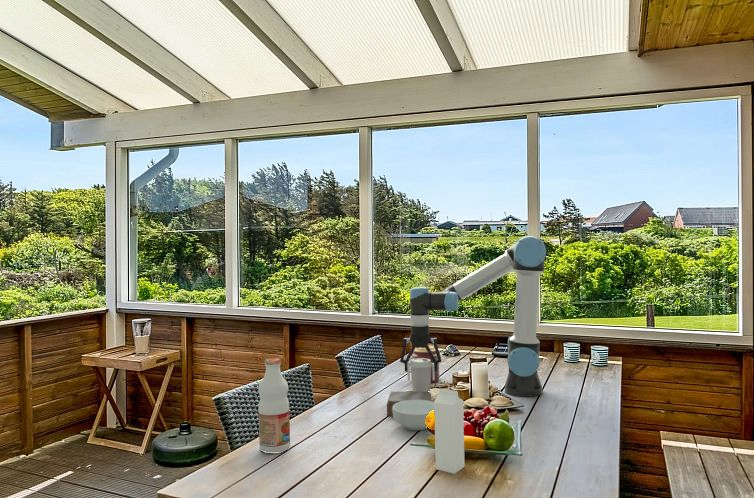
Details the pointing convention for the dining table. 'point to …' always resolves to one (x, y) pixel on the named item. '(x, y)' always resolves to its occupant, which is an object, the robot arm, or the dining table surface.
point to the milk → (449, 431)
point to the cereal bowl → (412, 413)
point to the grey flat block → (405, 398)
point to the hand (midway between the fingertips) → (421, 379)
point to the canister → (424, 354)
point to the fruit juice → (273, 409)
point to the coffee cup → (421, 374)
